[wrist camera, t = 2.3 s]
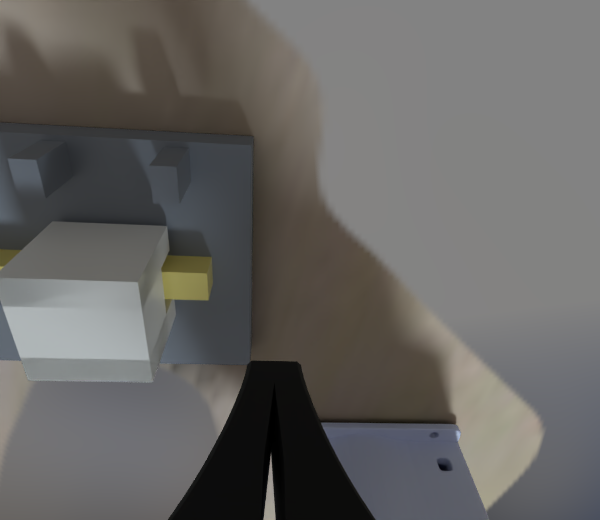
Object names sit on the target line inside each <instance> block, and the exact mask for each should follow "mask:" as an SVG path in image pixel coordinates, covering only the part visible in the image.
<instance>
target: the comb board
mask: <svg viewBox="0 0 600 520" xmlns="http://www.w3.org/2000/svg"><path fill="white" fill-rule="evenodd" d="M253 146H254V136H238V135H220V134H202V133H184V132H166V131H147V130H129V129H111V128H93V127H75V126H56V125H38V124H20V123H2V122H0V270H1V269H2V268H3V267H4V266H5V265H6V264H7V263H8V262H9V261H10V260H12V259H13V258H14V257H15V256H16V255H17V254H18V253H19V252H20V251H21V250H22V249H23V248H24V247H25V246H27V245H28V244H29V243H30V242H31V241H32V240H33V239H34V238H35V237H36V236H37V235H38V234H39V233H41V232H42V231H43V230H44V229H45V228H46V227H47V226H48V225H49V224H50V223H51V222H52V221H57V222H81V223H106V224H131V225H155V226H167V230H168V240H169V252H168V255H167V257H166V259H165V261H164V263H163V266H162V268H161V271H162V280H163V288H164V297H165V299H174V300H175V310H176V316H175V319H174V322H173V325H172V328H171V331H170V333H169V336H168V339H167V342H166V345H165V348H164V351H163V354H162V357H161V360H160V363H171V364H222V365H247V364H248V363H249V362H250V358H251V338H252V242H253ZM0 360H19V361H21V358H20V356H19V353H18V350H17V347H16V344H15V341H14V338H13V336H12V333H11V330H10V327H9V324H8V321H7V318H6V316H5V313H4V310H3V307H2V304H1V301H0Z"/></svg>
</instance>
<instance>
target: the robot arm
mask: <svg viewBox="0 0 600 520" xmlns="http://www.w3.org/2000/svg"><path fill="white" fill-rule="evenodd" d="M460 435H461V432H460V430H459V428H458V426H457V425H455V424H408V423H321V422H320V420H319V418H318V415H317V413H316V411H315V408H314V406H313V403H312V401H311V398H310V395H309V393H308V390H307V387H306V384H305V380H304V377H303V373H302V369H301V365H300V364H299V363H298V362H289V361H251V362H249V363H248V364H247V369H246V373H245V377H244V380H243V383H242V386H241V389H240V391H239V394H238V396H237V399H236V402H235V404H234V406H233V408H232V410H231V413H230V415H229V417H228V419H227V421H226V424H225V426H224V428H223V430H222V432H221V434H220V436H219V437H218V439H217V441H216V443H215V445H214V447H213V449H212V451H211V452H210V454H209V456H208V458H207V460H206V461H205V463H204V465H203V467H202V468H201V470H200V472H199V473H198V475H197V477H196V478H195V480H194V481H193V483H192V485H191V486H190V488H189V489H188V491H187V493H186V494H185V495H184V497H183V499H182V500H181V501H180V503H179V504H178V506H177V507H176V509H175V510H174V512H173V513H172V515H171V516H170V517H169V519H168V520H263V518H264V509H265V501H266V492H267V483H268V474H269V465H270V456H272V471H273V486H274V501H275V515H276V520H489V518H488V515H487V513H486V510H485V508H484V505H483V503H482V501H481V498H480V496H479V493H478V491H477V488H476V486H475V483H474V481H473V479H472V476H471V474H470V471H469V469H468V466H467V464H466V461H465V459H464V457H463V454H462V452H461V449H460V447H459V444H458V440H459V438H460Z"/></svg>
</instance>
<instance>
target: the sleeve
mask: <svg viewBox="0 0 600 520" xmlns="http://www.w3.org/2000/svg"><path fill="white" fill-rule="evenodd" d="M168 252H169V240H168V230H167V226H155V225H131V224H106V223H81V222H57V221H52V222H51V223H50V224H49V225H48V226H47V227H46V228H45V229H44V230H43V231H42V232H41V233H39V234H38V235H37V236H36V237H35V238H34V239H33V240H32V241H31V242H30V243H29V244H28V245H27V246H25V247H24V248H23V249H22V250H21V251H20V252H19V253H18V254H17V255H16V256H15V257H14V258H13V259H12V260H10V261H9V262H8V263H7V264H6V265H5V266H4V267H3V268H2V269H1V270H0V301H1V304H2V307H3V310H4V313H5V316H6V318H7V321H8V324H9V327H10V330H11V333H12V336H13V338H14V341H15V344H16V347H17V350H18V353H19V356H20V358H21V361H22V364H23V367H24V370H25V373H26V376H27V378H28V380H35V381H96V382H97V381H98V382H153V380H154V377H155V374H156V371H157V369H158V366H159V363H160V360H161V357H162V354H163V351H164V348H165V345H166V342H167V339H168V336H169V333H170V331H171V328H172V325H173V322H174V319H175V316H176V310H175V300H174V299H165V297H164V288H163V280H162V271H161V268H162V266H163V263H164V261H165V259H166V257H167V255H168Z"/></svg>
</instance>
